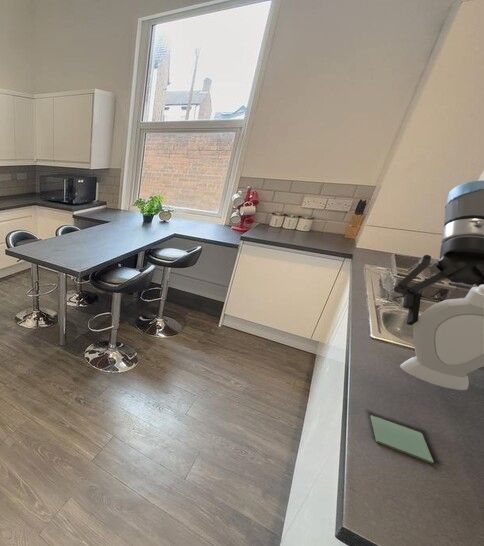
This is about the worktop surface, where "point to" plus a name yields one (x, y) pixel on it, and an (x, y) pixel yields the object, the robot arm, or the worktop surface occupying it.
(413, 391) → the worktop surface
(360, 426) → the worktop surface
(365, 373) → the worktop surface
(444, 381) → the soap bottle
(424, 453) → the mat
